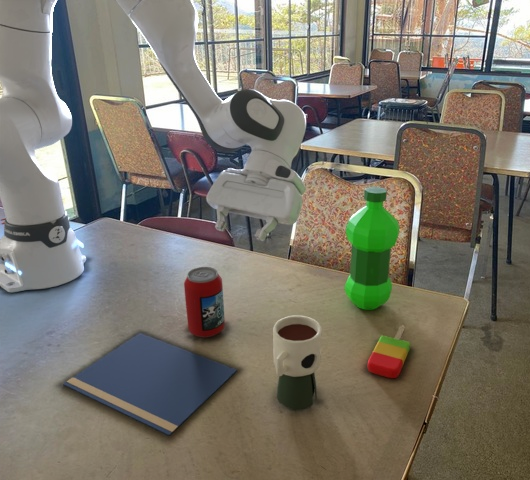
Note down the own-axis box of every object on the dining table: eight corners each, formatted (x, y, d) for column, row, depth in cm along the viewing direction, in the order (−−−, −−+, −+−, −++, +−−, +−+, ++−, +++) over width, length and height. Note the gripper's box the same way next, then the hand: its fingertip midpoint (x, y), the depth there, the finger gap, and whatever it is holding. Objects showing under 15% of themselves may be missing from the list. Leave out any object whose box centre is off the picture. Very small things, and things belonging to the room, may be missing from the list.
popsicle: (365, 372, 81) (365, 363, 80) (388, 326, 94) (389, 318, 93) (397, 381, 79) (398, 372, 78) (416, 333, 92) (417, 325, 91)
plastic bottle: (338, 312, 98) (343, 195, 88) (349, 287, 107) (355, 179, 97) (387, 320, 95) (398, 201, 85) (394, 295, 105) (405, 185, 95)
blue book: (63, 384, 76) (62, 383, 76) (139, 333, 89) (139, 332, 89) (169, 435, 67) (169, 434, 67) (237, 370, 80) (237, 369, 80)
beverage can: (216, 342, 87) (212, 284, 82) (182, 337, 88) (176, 280, 84) (230, 322, 93) (227, 267, 88) (198, 317, 94) (193, 263, 90)
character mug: (299, 430, 69) (300, 356, 63) (257, 412, 72) (255, 340, 66) (332, 385, 78) (335, 316, 72) (294, 371, 80) (294, 304, 75)
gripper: (216, 159, 99) (188, 217, 95) (303, 173, 91) (276, 238, 87) (230, 174, 105) (204, 230, 101) (313, 189, 97) (288, 251, 93)
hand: (238, 234), depth 94 cm, fingers open, 8 cm apart
